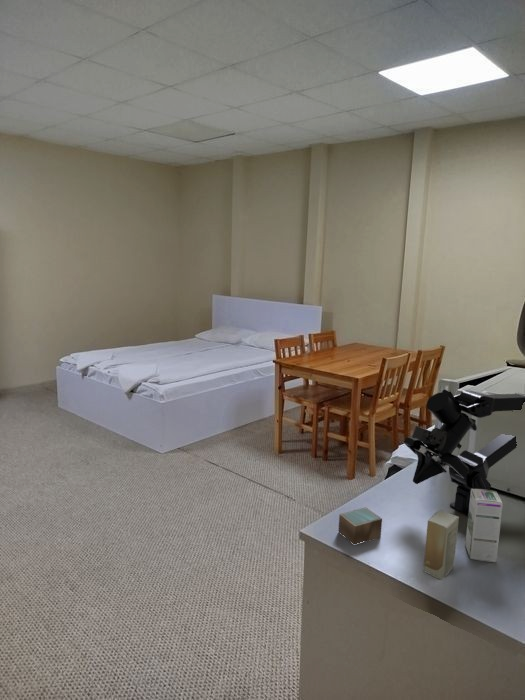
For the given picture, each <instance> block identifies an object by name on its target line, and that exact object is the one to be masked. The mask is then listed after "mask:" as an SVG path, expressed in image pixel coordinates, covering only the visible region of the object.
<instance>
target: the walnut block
mask: <svg viewBox="0 0 525 700" xmlns="http://www.w3.org/2000/svg"><path fill="white" fill-rule="evenodd" d="M382 523H383V518H382V517H381V516H379V514H378V515H377V514H376V513H375V512H373V511H372V510H370V509H369V508H368V507H367V506H365V507H361V508H358V509H354V510H351V511H350V510H349V511H346V512H342V513H339V517H338V530H337V531H339V532H340V533H341V534H342V535H344V536H345V537H346V538H347V539H348V540H349V541H351V542H352V543H353V544H357V543H360V542H363V541H367V542H370V541H373V539H374V540H377V539H380V538H381V537H382V536H381V535H382V525H383V524H382ZM340 533H339V534H340ZM341 534H340V535H341ZM342 535H341V536H342ZM347 539H346V540H347ZM348 540H347V541H348ZM369 540H370V541H369ZM349 541H348V542H349ZM353 544H352V545H353ZM357 545H358V544H357Z"/></svg>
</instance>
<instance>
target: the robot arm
mask: <svg viewBox="0 0 525 700" xmlns="http://www.w3.org/2000/svg"><path fill="white" fill-rule="evenodd" d="M524 402H525V394H523V393H521V392H515V393H502V394H501V393H499V394H498V393H497V394H485V393H481V392H477V391H472V390H468V389H465V390H462V391H461V392H460V393H459V394H456V395H454V394H453V393H452V391H450V390H448V389H445V388H444V389H443V390H442V391H441V392H437V393H435V394H433V395H432V396H430V397H429V398H428V400H427V402H426V408H427V410H428V411H429V412H431V414H432V415H433V416H434V418H436V419H437V420H438V422H440V423H441V424H442V425H441V426H440V427H439V428H438V427H434V428H433V429H431V430H429V429H426V428H425V427H424V428H423V427H421V426H418V425H415V428H414V430H413V433H412V435H411V436H407V437H406V439H405V440H404V441H403V442H402V443H403V444H404V445H405V446H406V447H407V448H408V449H409V450H410V451H411V452H413V453H414V455H416V456H417V464H416V468H415V471H414V474H413V477H412V482H413V483H414V484H415V485H418V484H420V483H422V482H425V481H427V480H429V479H430V478H431V479H432V478H433V477H436V476H437V475H440V474H443V473H444V474H446V473H449V477H450V481H451V482H452V483H454V484H456V485H457V486H456V492H455V496H454V501H453V502H450V503H449V506H450V507H451V508H452V509H455V510H457V511H459V512H461V513H462V514H463V515H464V514H465V515H466V516H468V513H469V503H470V494H471V489H486V490H490V489H491V487H492V484H491V483H490V482H489V480H488V475H489V470H490V469H491V467H493V466H495V464H497V463H498V462H499V461H501V460H502V459H503V458H504V457H506V456H508V454H510V453H511V452H513V451H514V450H515V449H516V448H517V447H516V446H517V444H516V443H517V442H516V436H512V435H505V434H502V433H500V435H498V436H496V437H495V438H494V439H493V440H491V441H489V442H488V443H487V444H486V445H485V446H483V447H482V448H480V449H479V450H477V451H476V452H471V451H469V450H467V449H466V450H463V451H461V452H460V453H459V454H458V455H455V454H453V452H454V451H455V449H458V450H461V448H462V446H463V445H462V444H460V443H461V441H462V440H463V438H465V436H466V435H467V433H468V432H469V431H470V430H473V431H474V432H475V431H477V429H478V427H477V424H476V419H475V418H478V419H482V418H485V417H489V416H491V415H492V414H493V413H495V412H507V411H508V412H509V411H510V412H511V411H512V412H513V410H521V409H522V405H523V403H524ZM469 415H470V416H473V417H475V418H474V419H473V418H471V417H469ZM447 468H448V471H447V470H446V469H447Z"/></svg>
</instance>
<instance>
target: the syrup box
mask: <svg viewBox="0 0 525 700" xmlns="http://www.w3.org/2000/svg"><path fill="white" fill-rule="evenodd" d="M503 504H504V503H503V502H502V499H501V498H500V496H499V494H498V492H497V491H496V490H486V489H471V494H470V503H469V513H468V515H467V524H466V526H467V527H466V534H465V549H466V551H467V554H468V557H469V559H471V560H474V561H475V560H476V561H482V562H489V563H490V562H491V563H497V558H498V548H499V539H500V532H501V522H502V521H501V520H502V512H503Z"/></svg>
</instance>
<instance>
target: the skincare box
mask: <svg viewBox="0 0 525 700" xmlns="http://www.w3.org/2000/svg"><path fill="white" fill-rule="evenodd" d="M459 519H460V517H459V516H458V515H455V514H454V513H453V514H452V513H449V512H447V511H445V510H442V509H439V510H437V511H436V512H435V513H433V515H431V517H429V518H428V519H427V526H426V536H425V538H426V539H425V547H424V558H423V559H424V560H423V566H422V567H423V568H422V571H423V573H424V572H425V573H427V574H429V575H430V576H433V577H435V578H437V579H439V580H441V581H442V580H443V579H445V578H446V576H447V575H449V573H450V572H451V571H452V570H453V569H454V565H455V559H456V558H455V555H456V548H457V547H456V545H457V537H458V530H459V529H458V527H459Z"/></svg>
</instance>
